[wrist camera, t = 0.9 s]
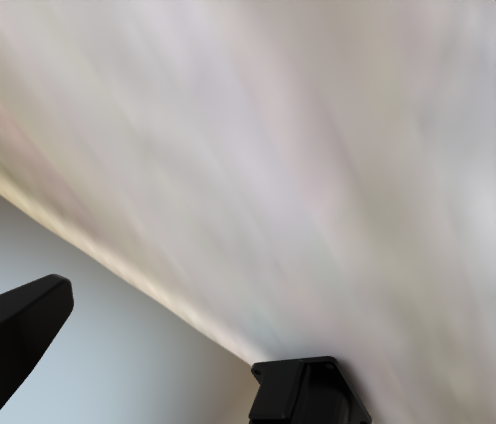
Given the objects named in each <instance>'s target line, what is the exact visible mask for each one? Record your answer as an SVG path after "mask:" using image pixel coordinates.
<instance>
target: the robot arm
mask: <svg viewBox="0 0 496 424" xmlns="http://www.w3.org/2000/svg"><path fill="white" fill-rule="evenodd" d="M73 306H74V299H73V292H72V285H71V281H70V280H69V279H67V278H65V277H62V276H60V275H58V274H50V275H47V276H45V277H42V278H40V279H37V280H35V281H32V282H30V283H27V284H25V285H22V286H20V287H17V288H15V289H12V290H10V291H7V292H5V293H3V294H0V410H1V408H2V407H3V406H4V405H5V403H6V402H7V401H8V400H9V399H10V397H11V396H12V395H13V394H14V392H15V391H16V390H17V389H18V388H19V386H20V385H21V384H22V383H23V382H24V380H25V379H26V378H27V377H28V375H29V374H30V373H31V372H32V370H33V369H34V367H35V366H36V364H37V363H38V362H39V360H40V359H41V357H42V356H43V354H44V353H45V351H46V350H47V348H48V347H49V345H50V344H51V342H52V341H53V339H54V338H55V336H56V335H57V333H58V332H59V330H60V329H61V327H62V326H63V324H64V323H65V321H66V320H67V318H68V317H69V316H70V314H71V312H72V310H73ZM251 372H252V374H253V375H254V377H255V378H256V380H257V381H258V382H259V384H260V387H259V390H258V392H257V395H256V397H255V400H254V403H253V405H252V408H251V410H250V413H249V419H250V421H249V424H372V418H371V416H370V415H369V413H368V411H367V409H366V408H365V406H364V404H363V403H362V401H361V399H360V398H359V396H358V394H357V393H356V391H355V389H354V388H353V386H352V384H351V382H350V381H349V379H348V377H347V376H346V374H345V372H344V371H343V369H342V367H341V366H340V364H339V362H338V361H337V359H335V358H334V357H331V356H323V357H312V358H302V359H291V360H281V361H270V362H260V363H254V364H253V366H252V369H251Z"/></svg>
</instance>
